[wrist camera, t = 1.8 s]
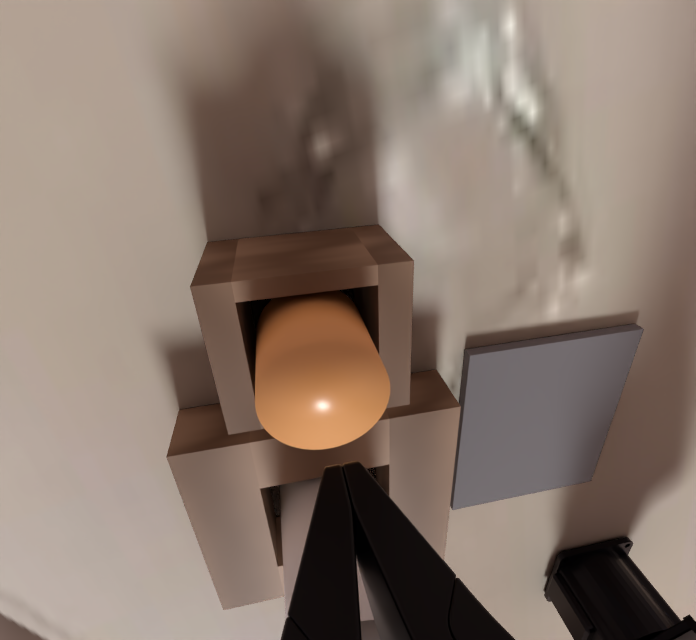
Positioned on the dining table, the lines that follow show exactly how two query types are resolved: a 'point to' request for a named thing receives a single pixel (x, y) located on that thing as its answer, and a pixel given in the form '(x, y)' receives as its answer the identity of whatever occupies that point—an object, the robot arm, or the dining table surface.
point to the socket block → (281, 459)
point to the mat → (537, 412)
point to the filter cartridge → (294, 529)
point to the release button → (317, 371)
